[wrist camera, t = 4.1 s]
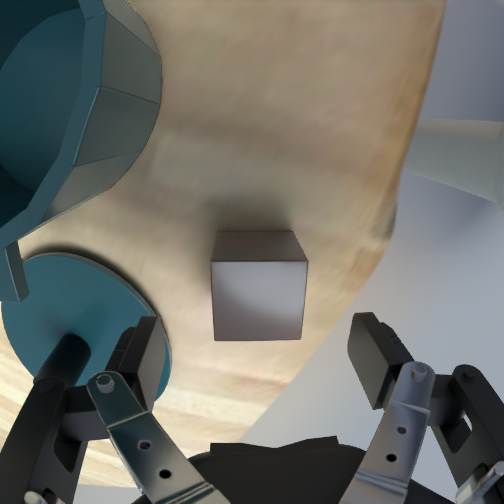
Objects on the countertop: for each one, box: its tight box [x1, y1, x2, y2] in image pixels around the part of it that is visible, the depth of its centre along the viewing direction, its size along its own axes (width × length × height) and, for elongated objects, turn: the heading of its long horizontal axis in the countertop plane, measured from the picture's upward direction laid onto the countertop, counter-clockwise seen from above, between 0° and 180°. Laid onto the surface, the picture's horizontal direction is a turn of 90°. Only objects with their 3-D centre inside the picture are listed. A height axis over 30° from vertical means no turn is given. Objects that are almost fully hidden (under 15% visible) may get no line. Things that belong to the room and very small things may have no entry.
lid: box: [1, 252, 172, 402], centre depth 18 cm, size 15×15×6 cm
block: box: [210, 232, 308, 341], centre depth 18 cm, size 4×4×4 cm
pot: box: [0, 0, 162, 303], centre depth 11 cm, size 14×19×8 cm
